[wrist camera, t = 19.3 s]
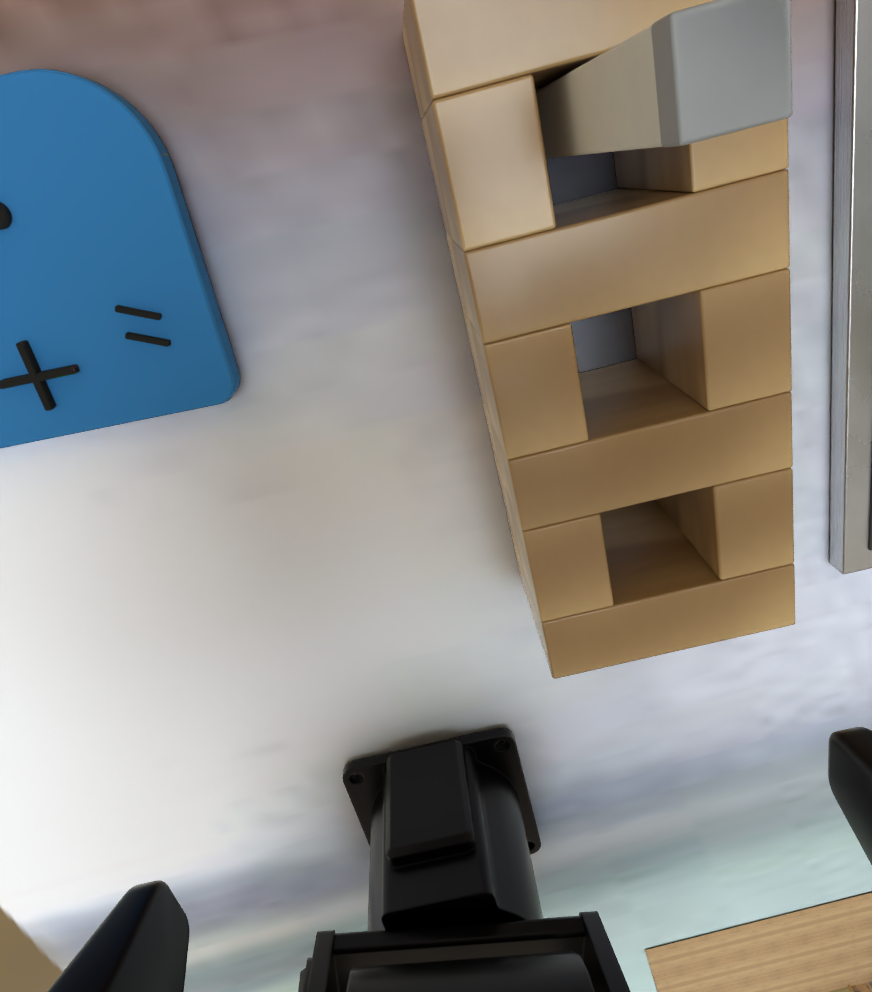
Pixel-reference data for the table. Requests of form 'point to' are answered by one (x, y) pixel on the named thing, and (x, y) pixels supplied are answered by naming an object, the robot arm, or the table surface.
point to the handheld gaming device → (97, 268)
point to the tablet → (852, 292)
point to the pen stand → (657, 329)
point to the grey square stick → (676, 82)
